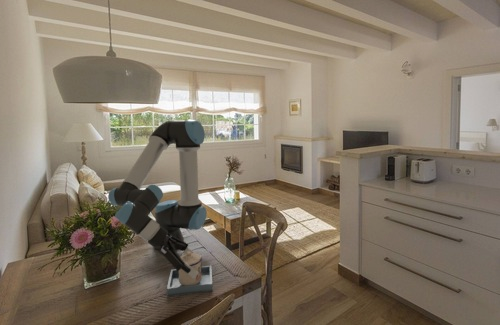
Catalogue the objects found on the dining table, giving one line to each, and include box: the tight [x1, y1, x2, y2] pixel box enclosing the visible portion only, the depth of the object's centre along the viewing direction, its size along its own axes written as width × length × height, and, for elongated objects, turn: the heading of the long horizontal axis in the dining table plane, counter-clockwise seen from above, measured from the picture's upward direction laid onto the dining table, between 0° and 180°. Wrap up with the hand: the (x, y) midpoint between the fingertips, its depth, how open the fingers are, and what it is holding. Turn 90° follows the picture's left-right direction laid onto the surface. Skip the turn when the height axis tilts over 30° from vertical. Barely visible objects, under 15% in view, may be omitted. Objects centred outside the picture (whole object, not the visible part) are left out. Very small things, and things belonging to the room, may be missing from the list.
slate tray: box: [166, 265, 213, 297], centre depth 110 cm, size 14×17×3 cm
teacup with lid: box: [179, 251, 202, 286], centre depth 109 cm, size 12×9×12 cm
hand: (196, 266), depth 110 cm, fingers closed on teacup with lid, 12 cm apart
